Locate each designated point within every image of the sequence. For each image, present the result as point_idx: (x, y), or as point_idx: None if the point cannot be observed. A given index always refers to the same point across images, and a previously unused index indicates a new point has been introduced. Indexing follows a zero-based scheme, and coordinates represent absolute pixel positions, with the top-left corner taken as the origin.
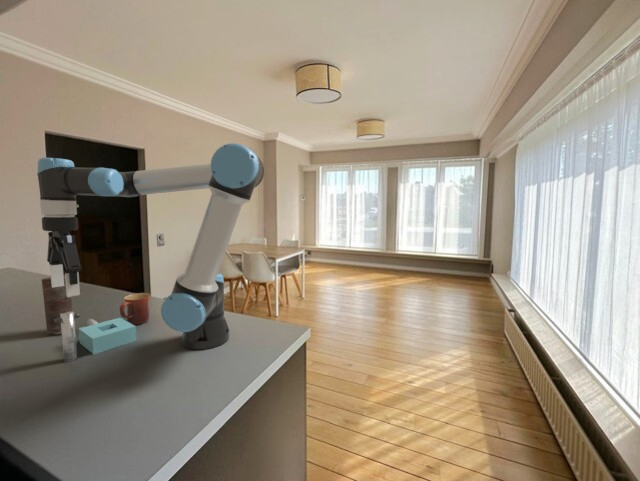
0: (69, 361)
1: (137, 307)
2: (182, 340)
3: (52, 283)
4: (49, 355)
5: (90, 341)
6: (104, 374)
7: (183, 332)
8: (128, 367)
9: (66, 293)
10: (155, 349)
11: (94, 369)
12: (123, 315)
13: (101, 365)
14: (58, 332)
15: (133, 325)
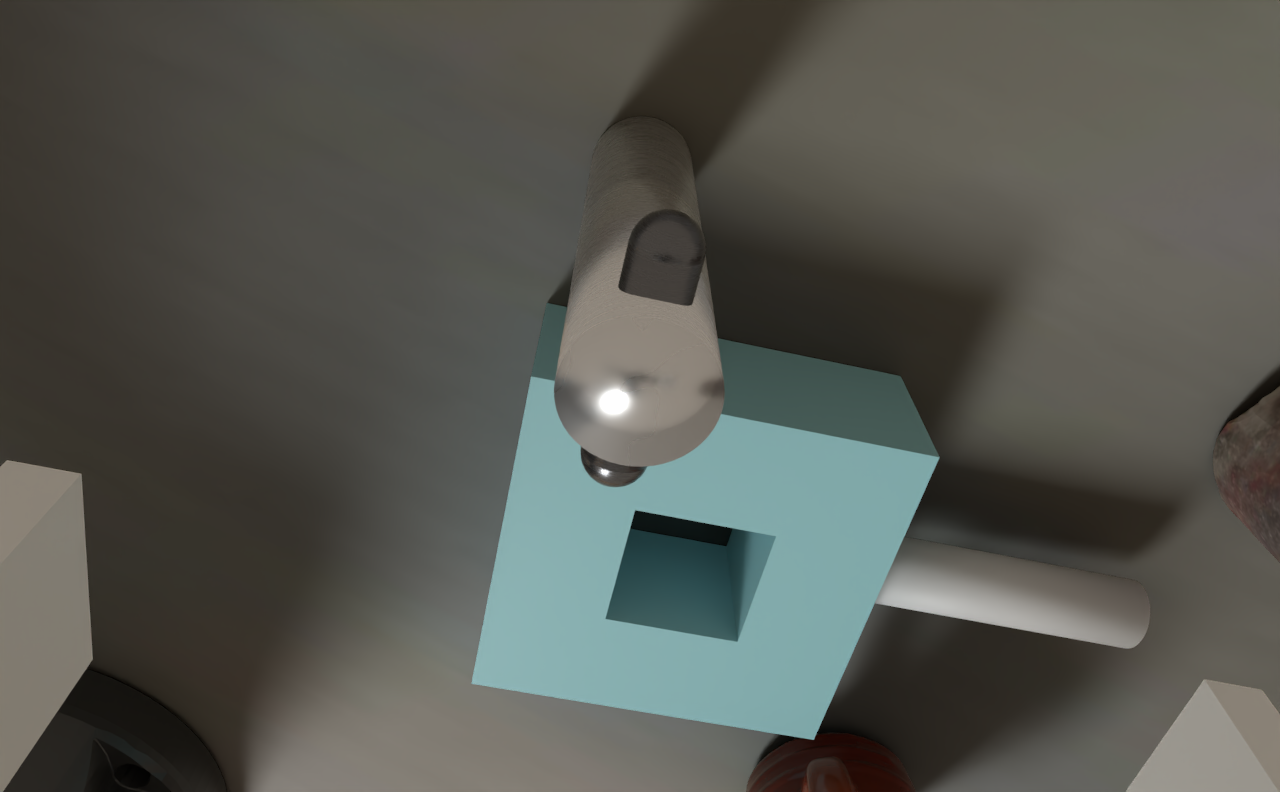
0: (603, 137)
1: None
2: (92, 698)
3: (1256, 769)
4: (910, 121)
5: None
6: (82, 139)
7: (83, 762)
8: (52, 294)
9: (38, 523)
10: (199, 552)
11: (249, 152)
12: (812, 772)
13: (276, 219)
14: (1275, 398)
15: (507, 685)
